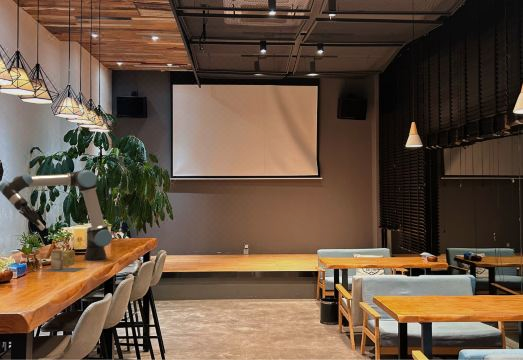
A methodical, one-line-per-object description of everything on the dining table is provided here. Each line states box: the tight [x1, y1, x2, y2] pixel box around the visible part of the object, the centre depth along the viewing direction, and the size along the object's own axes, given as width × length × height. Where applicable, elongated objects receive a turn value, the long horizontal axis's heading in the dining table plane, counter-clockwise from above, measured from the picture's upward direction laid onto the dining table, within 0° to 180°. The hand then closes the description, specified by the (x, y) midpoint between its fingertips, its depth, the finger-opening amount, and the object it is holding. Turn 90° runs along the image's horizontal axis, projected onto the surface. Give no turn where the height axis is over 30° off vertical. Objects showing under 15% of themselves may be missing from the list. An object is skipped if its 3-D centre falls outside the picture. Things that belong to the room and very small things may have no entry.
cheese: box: [62, 249, 76, 267], centre depth 326 cm, size 10×11×10 cm
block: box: [50, 249, 64, 270], centre depth 309 cm, size 5×5×12 cm
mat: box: [41, 266, 87, 273], centre depth 308 cm, size 16×22×1 cm
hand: (43, 228), depth 310 cm, fingers closed
